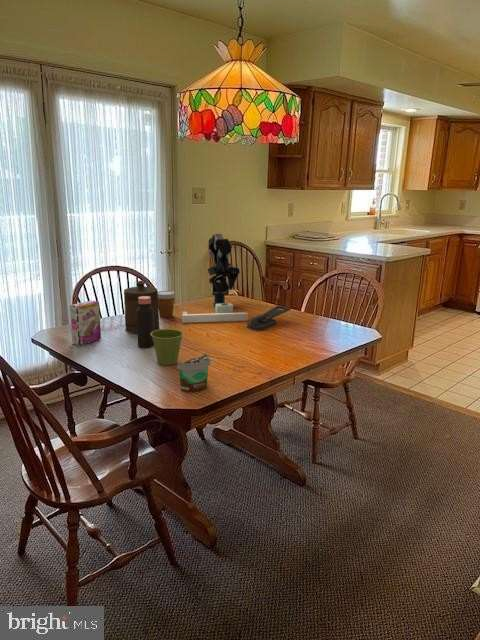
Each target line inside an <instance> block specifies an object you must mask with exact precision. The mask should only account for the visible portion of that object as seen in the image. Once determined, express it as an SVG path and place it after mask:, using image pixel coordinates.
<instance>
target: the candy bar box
mask: <svg viewBox="0 0 480 640" xmlns="http://www.w3.org/2000/svg"><path fill="white" fill-rule="evenodd" d="M100 309H101V308H100V302H99V301H97V300H96V301H95V300H92V299H91V300H88V301H83V302H77V303H74V304H70V305H69V313H70V327H71V343H74V344H73V345H75V344H77V345H76V346H78V345H81V346H83V345H82V344H84V345H86V344H85V343H87V344H90V343H89V342H91V343H93V342H92V341H94V342H97V341H100V340H99V339H101V340H102V333H101V331H102V330H101V329H102V327H101V311H100ZM96 340H97V341H96Z"/></svg>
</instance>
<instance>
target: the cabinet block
mask: <svg viewBox="0 0 480 640" xmlns="http://www.w3.org/2000/svg"><path fill="white" fill-rule="evenodd" d="M215 313H234V306H233V304H232V303H231V302H225V303H221V304H215Z"/></svg>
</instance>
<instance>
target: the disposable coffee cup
mask: <svg viewBox="0 0 480 640" xmlns="http://www.w3.org/2000/svg"><path fill="white" fill-rule="evenodd" d="M175 298H176V293H175V291H173V290H160V291H158V310H159V318H162V319H169V318H172V317H173V316H174V305H175Z"/></svg>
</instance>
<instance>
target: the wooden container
mask: <svg viewBox="0 0 480 640" xmlns="http://www.w3.org/2000/svg"><path fill="white" fill-rule="evenodd" d="M158 292H159V291H158V288H156V287H154V286H145V282H144V281H143V280H138V281H137V282H136V286H131V287H127V288H125V289H124V290H123V299H124V301H123V302H124V306H123V307H124V322H125V331H126V332H128V333H129V332H130V333H131V334H133V335H134V334H135V335H137V316H136V310H137V308H138V307H139V303H138V297H141V296H149V297H151V304H150V306H151V307H152V308H153V310H154V331H156V330H160V315H159V309H158Z"/></svg>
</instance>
